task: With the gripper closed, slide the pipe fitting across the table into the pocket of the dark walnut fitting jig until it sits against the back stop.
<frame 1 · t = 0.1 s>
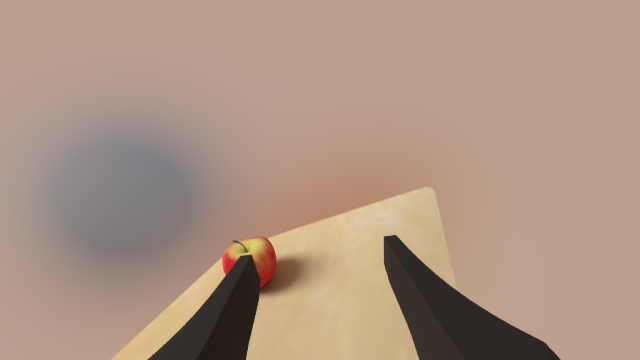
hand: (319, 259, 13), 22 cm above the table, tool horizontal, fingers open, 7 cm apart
apple: (256, 281, 41), on the table
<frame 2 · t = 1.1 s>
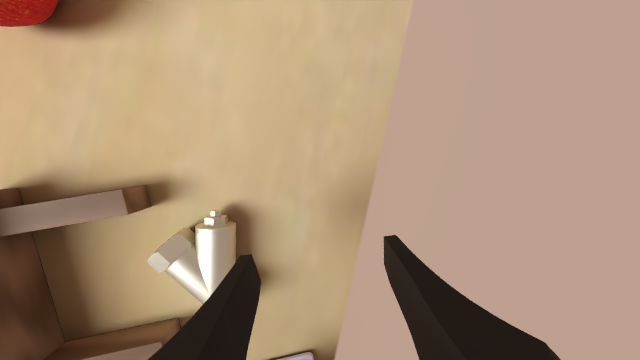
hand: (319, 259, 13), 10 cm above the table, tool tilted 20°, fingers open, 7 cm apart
fitting jig: (164, 263, 22), on the table
pipe fitting: (223, 251, 23), on the table
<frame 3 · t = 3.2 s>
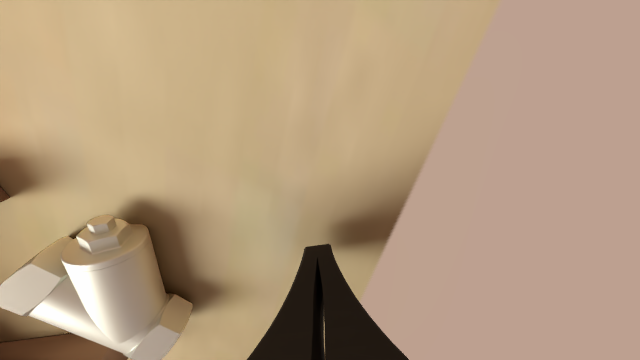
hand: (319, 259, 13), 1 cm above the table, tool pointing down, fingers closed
fitting jig: (76, 273, 14), on the table
pipe fitting: (148, 259, 15), on the table
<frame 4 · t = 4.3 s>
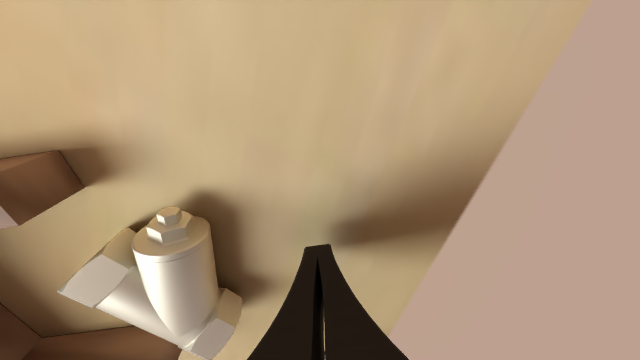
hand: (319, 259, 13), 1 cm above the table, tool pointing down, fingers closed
fitting jig: (138, 265, 14), on the table
pipe fitting: (199, 253, 15), on the table
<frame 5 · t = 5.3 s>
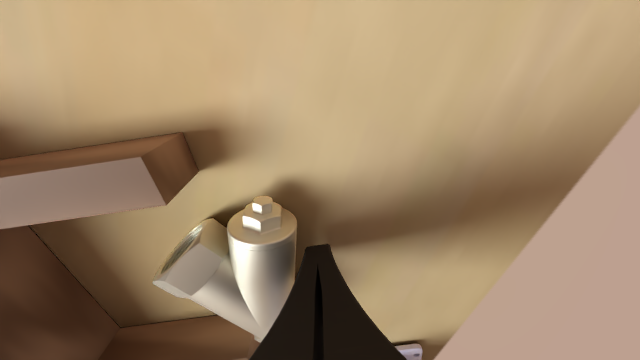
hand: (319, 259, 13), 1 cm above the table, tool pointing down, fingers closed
fitting jig: (232, 253, 14), on the table
pipe fitting: (270, 245, 15), on the table
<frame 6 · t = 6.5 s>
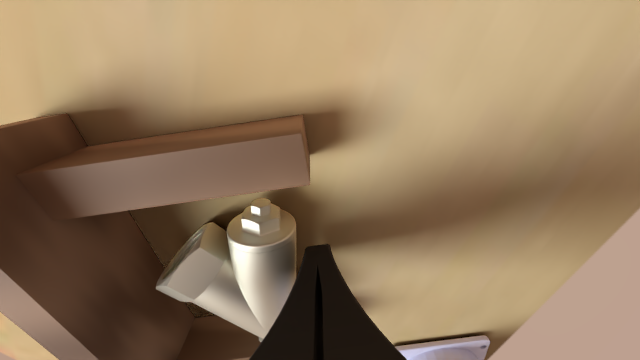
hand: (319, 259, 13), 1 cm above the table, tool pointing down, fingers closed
fitting jig: (323, 240, 14), on the table
pipe fitting: (271, 247, 15), on the table, touching gripper
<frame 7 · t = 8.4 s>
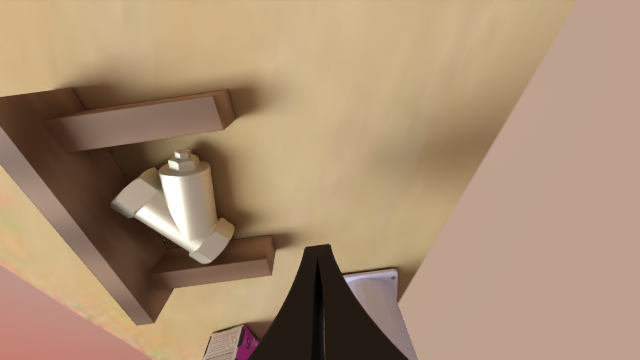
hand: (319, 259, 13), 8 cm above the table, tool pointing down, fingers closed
fitting jig: (256, 184, 20), on the table
candy bar box: (251, 347, 31), on the table
pipe fitting: (202, 192, 20), on the table
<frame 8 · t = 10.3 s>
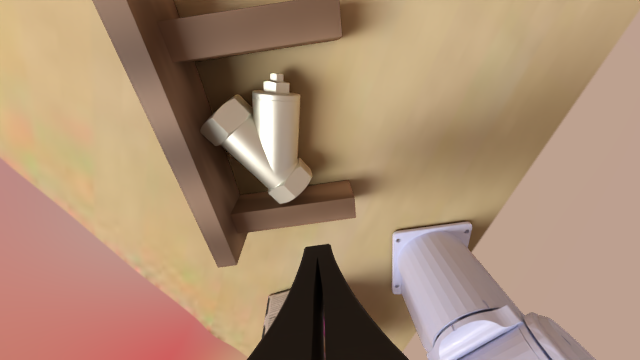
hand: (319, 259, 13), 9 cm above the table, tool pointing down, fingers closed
fitting jig: (343, 119, 19), on the table
candy bar box: (305, 312, 30), on the table
pipe fitting: (279, 130, 19), on the table, touching fitting jig
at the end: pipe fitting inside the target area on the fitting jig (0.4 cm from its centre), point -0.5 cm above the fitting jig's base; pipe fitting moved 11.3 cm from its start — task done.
